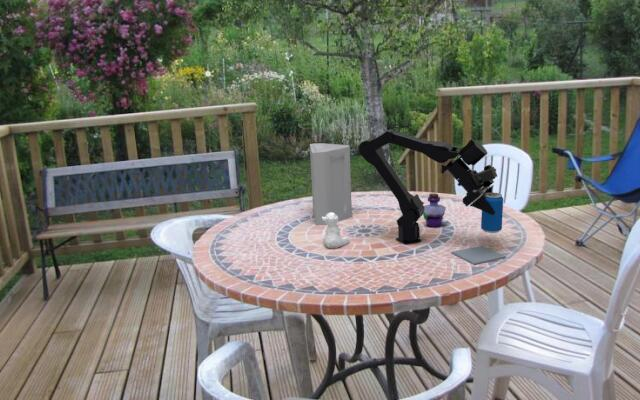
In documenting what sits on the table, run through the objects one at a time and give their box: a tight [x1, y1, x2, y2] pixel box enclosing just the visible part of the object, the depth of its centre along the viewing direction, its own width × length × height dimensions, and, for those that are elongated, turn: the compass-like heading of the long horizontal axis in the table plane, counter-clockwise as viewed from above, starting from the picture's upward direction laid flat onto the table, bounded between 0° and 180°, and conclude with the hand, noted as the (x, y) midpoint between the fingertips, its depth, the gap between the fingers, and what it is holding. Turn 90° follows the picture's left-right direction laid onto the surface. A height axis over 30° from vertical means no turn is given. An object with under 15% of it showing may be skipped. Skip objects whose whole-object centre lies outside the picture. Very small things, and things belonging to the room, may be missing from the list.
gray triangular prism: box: [309, 142, 353, 226], centre depth 247 cm, size 19×15×28 cm
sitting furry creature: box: [322, 212, 351, 249], centre depth 217 cm, size 10×9×12 cm
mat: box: [450, 244, 507, 266], centre depth 202 cm, size 12×12×1 cm
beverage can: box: [480, 192, 504, 234], centre depth 204 cm, size 6×6×12 cm
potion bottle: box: [422, 193, 447, 229], centre depth 233 cm, size 9×9×12 cm
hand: (496, 211), depth 203 cm, fingers closed on beverage can, 6 cm apart
